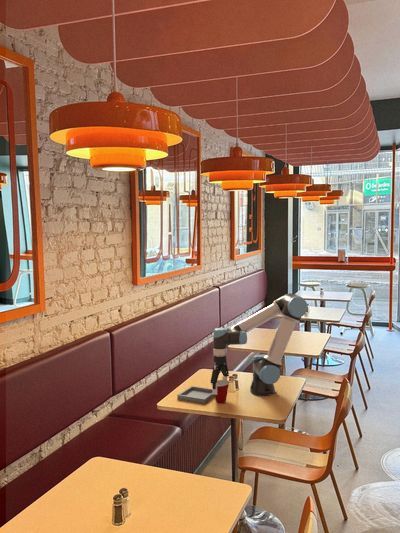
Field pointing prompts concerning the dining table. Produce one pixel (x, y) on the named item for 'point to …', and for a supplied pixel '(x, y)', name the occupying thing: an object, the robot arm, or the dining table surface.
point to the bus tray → (196, 395)
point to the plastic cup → (221, 391)
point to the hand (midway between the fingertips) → (219, 390)
